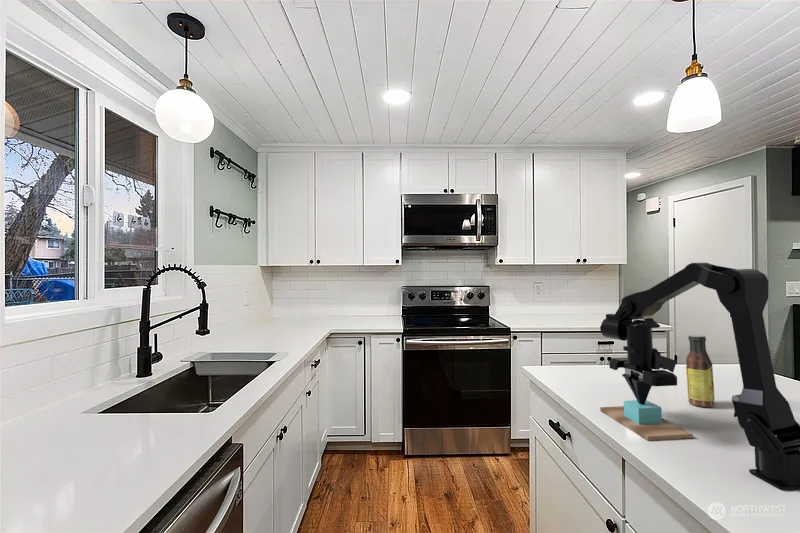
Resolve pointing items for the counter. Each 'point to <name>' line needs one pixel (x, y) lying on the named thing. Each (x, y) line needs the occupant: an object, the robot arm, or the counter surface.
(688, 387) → the sauce bottle
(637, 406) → the teal block
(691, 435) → the post base
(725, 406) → the counter surface
